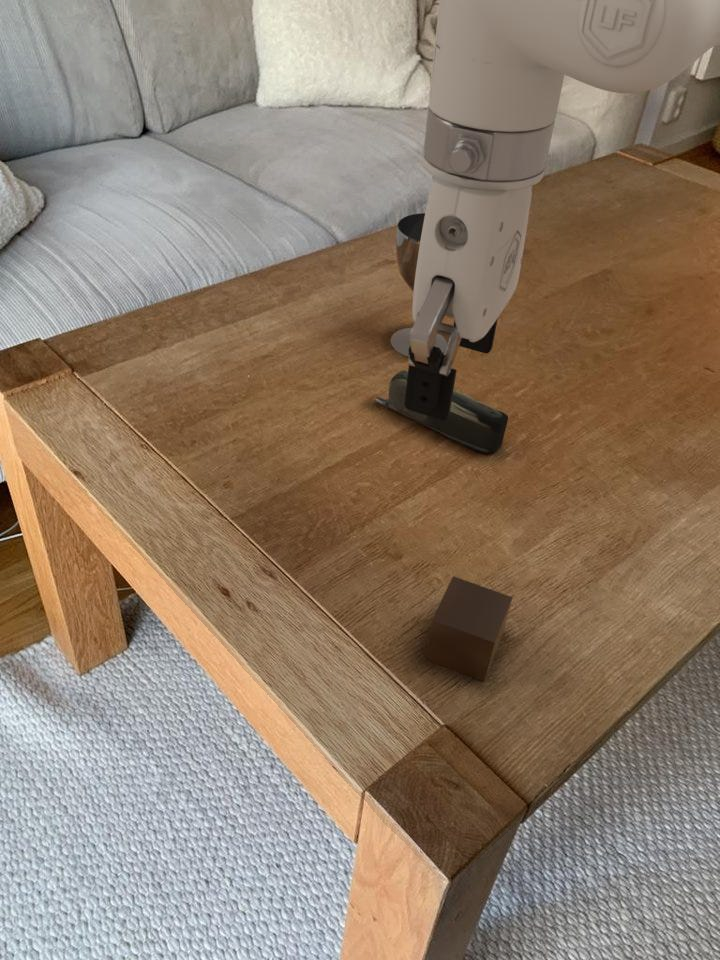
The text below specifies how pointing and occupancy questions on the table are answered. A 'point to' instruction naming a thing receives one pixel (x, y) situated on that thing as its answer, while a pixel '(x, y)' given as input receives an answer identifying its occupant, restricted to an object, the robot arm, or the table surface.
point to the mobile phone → (455, 418)
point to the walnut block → (468, 628)
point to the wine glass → (409, 272)
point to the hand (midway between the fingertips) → (450, 378)
